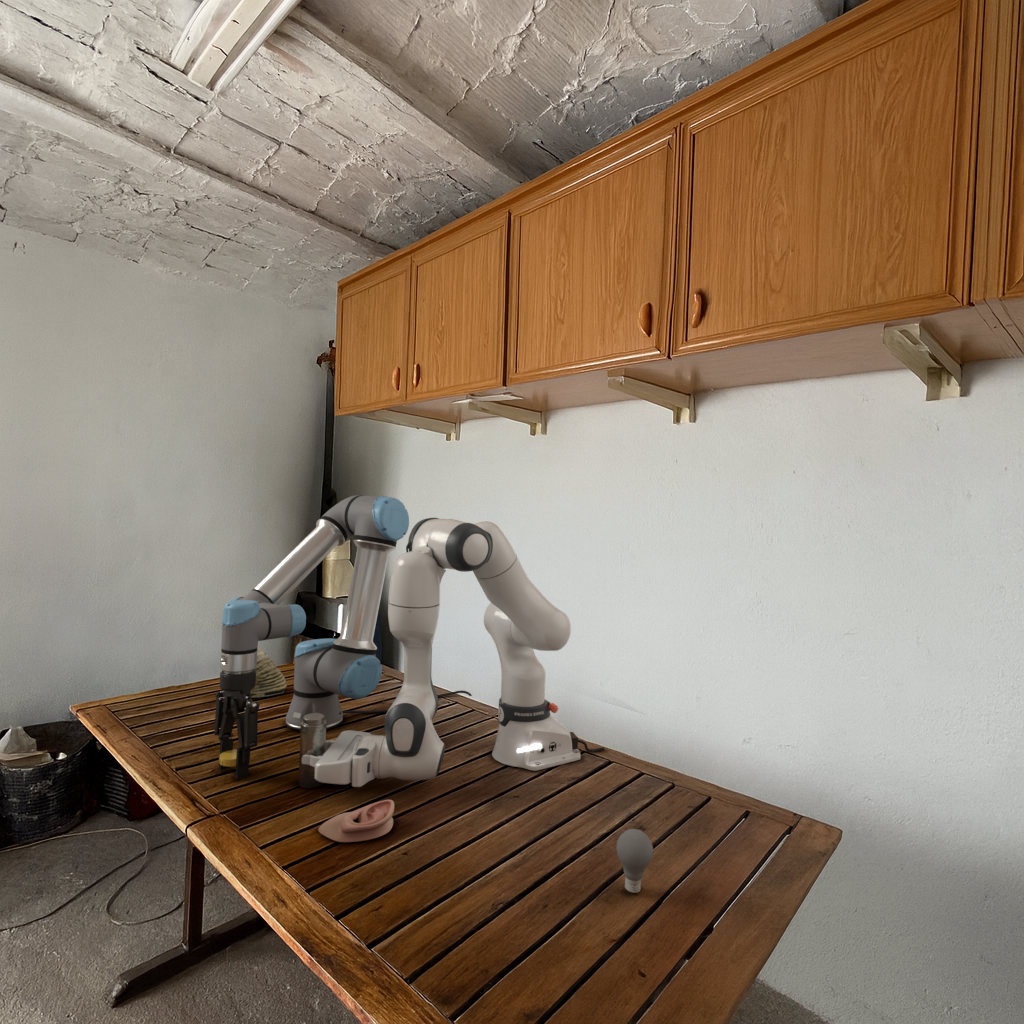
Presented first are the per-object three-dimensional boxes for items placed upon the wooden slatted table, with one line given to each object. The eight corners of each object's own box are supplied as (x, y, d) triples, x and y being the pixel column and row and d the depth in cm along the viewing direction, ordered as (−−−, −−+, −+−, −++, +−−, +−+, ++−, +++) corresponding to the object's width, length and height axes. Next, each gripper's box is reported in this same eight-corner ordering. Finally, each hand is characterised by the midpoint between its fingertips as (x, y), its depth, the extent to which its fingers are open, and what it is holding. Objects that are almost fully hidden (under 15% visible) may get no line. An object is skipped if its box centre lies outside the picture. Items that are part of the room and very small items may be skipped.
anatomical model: (310, 816, 117) (339, 789, 129) (309, 837, 117) (338, 808, 129) (377, 827, 115) (401, 798, 126) (376, 848, 115) (400, 818, 126)
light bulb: (610, 879, 108) (613, 822, 108) (644, 879, 109) (647, 822, 109) (619, 902, 102) (622, 840, 102) (655, 901, 103) (658, 840, 103)
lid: (242, 767, 140) (242, 760, 139) (214, 766, 139) (214, 759, 139) (252, 756, 145) (252, 749, 145) (225, 755, 145) (225, 748, 145)
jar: (306, 776, 143) (308, 711, 143) (328, 779, 142) (331, 713, 142) (293, 786, 138) (296, 719, 138) (316, 789, 137) (319, 721, 137)
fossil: (218, 695, 195) (220, 647, 195) (278, 685, 208) (279, 640, 207) (228, 703, 189) (230, 653, 188) (289, 692, 201) (290, 645, 201)
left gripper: (199, 665, 145) (195, 766, 145) (247, 681, 134) (242, 790, 134) (230, 659, 151) (225, 756, 151) (278, 675, 140) (273, 779, 140)
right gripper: (382, 725, 150) (324, 721, 150) (358, 760, 129) (291, 756, 130) (381, 751, 150) (323, 748, 150) (357, 791, 129) (290, 787, 130)
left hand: (233, 772), depth 142 cm, fingers closed on lid, 6 cm apart
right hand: (308, 752), depth 140 cm, fingers closed on jar, 5 cm apart
